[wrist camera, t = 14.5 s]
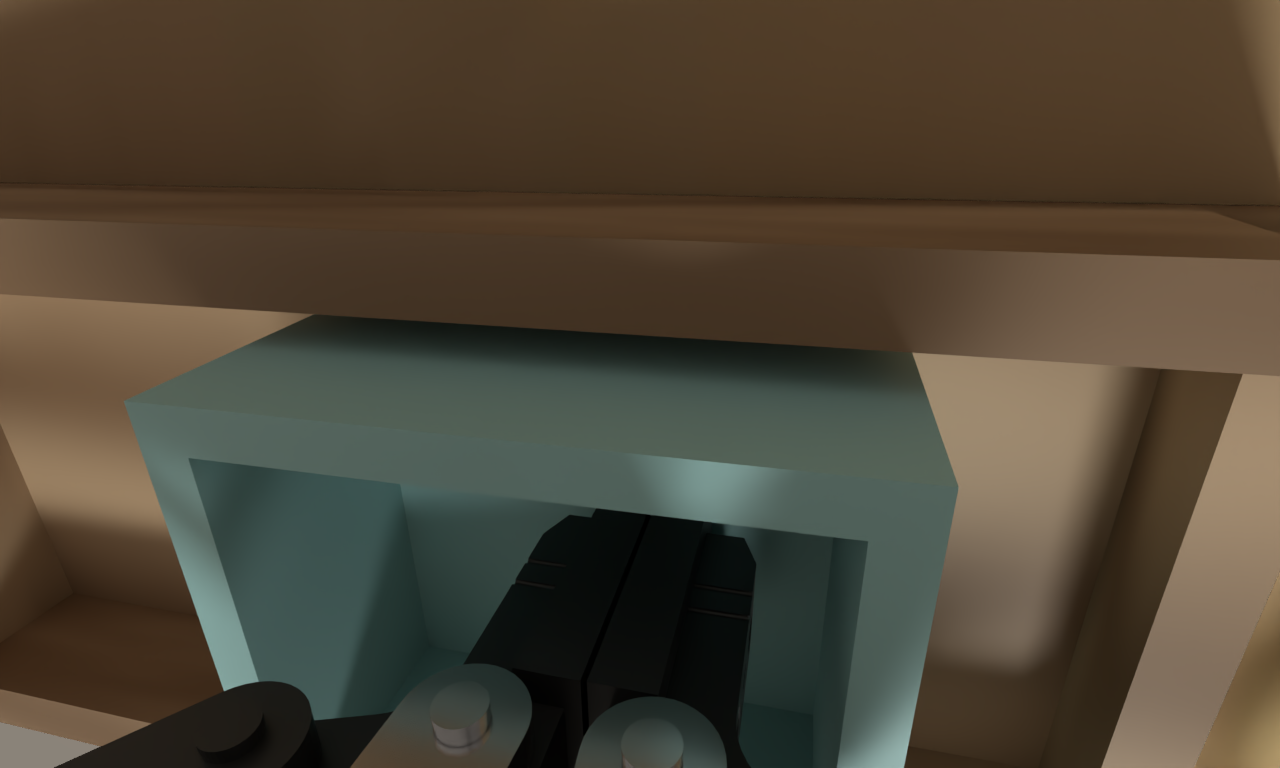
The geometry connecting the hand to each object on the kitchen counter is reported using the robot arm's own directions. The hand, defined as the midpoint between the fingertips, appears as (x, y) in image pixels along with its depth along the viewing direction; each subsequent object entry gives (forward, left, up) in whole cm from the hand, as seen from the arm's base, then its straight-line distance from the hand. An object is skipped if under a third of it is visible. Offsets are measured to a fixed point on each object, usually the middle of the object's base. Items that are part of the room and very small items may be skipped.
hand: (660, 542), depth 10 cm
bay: (0, -4, -1) cm, 4 cm away
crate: (0, -1, -1) cm, 1 cm away
